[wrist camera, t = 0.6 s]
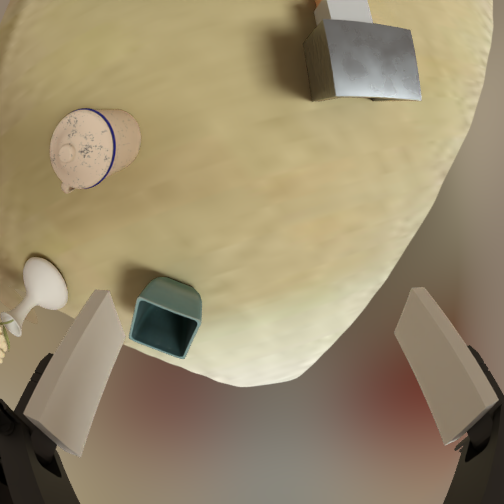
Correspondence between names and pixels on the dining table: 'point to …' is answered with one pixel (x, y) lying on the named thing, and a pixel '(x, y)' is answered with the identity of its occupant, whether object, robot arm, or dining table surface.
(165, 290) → the flower pot
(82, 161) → the teacup with lid
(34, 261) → the flower in vase
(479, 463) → the robot arm
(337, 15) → the orange bar on cube
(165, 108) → the dining table surface
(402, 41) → the block
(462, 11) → the dining table surface
